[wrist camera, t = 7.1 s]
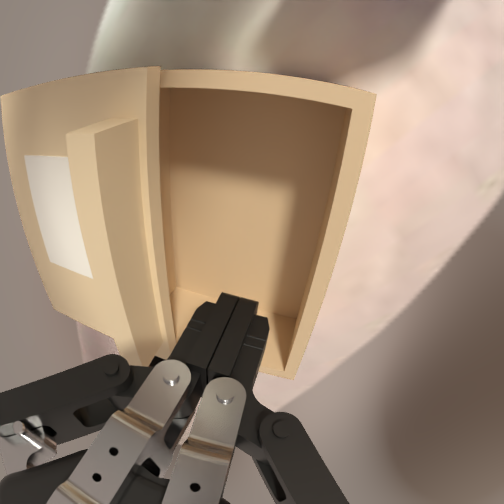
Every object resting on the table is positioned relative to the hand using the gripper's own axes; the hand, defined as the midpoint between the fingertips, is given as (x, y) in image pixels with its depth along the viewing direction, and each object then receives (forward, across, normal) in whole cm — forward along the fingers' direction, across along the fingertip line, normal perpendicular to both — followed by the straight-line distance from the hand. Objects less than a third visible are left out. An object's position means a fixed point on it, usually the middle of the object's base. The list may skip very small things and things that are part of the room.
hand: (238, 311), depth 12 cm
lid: (+3, +11, 0) cm, 12 cm away
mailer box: (+9, +2, 0) cm, 10 cm away
